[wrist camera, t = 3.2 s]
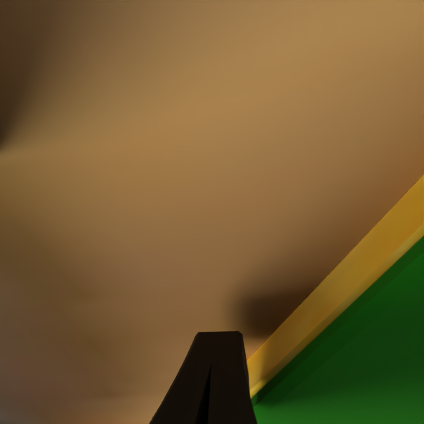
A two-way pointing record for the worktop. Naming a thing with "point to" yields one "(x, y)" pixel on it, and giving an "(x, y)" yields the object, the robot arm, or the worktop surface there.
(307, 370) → the dish sponge
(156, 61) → the worktop surface
